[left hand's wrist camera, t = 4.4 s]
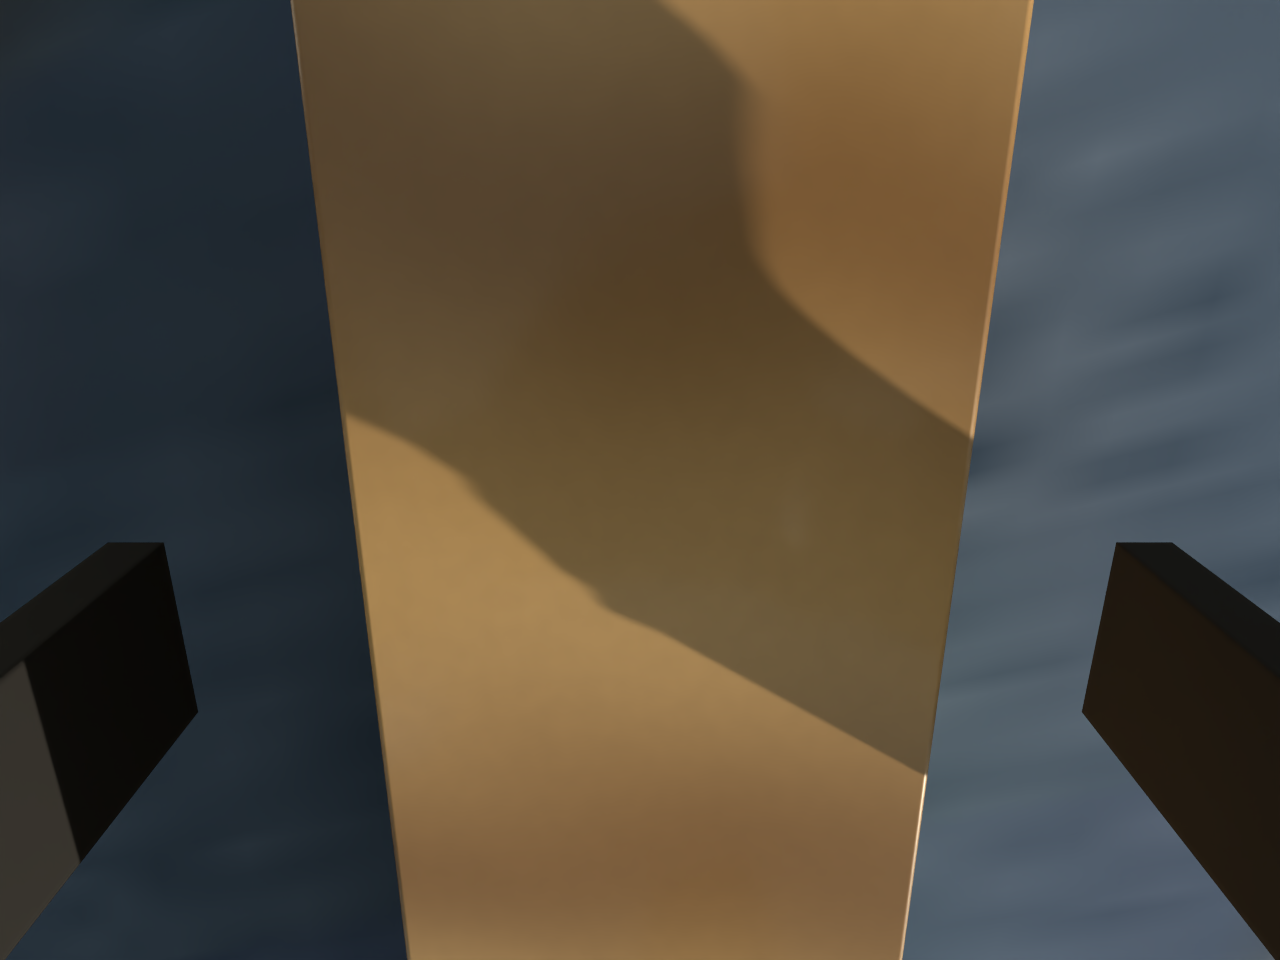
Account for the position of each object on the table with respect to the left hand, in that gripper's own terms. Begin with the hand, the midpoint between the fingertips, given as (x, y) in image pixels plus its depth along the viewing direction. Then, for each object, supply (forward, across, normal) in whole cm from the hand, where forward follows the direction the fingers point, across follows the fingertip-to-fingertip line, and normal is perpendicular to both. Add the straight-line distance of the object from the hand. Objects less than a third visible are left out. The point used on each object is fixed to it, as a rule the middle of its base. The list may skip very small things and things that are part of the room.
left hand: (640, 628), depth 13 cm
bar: (+4, 0, -24) cm, 24 cm away
